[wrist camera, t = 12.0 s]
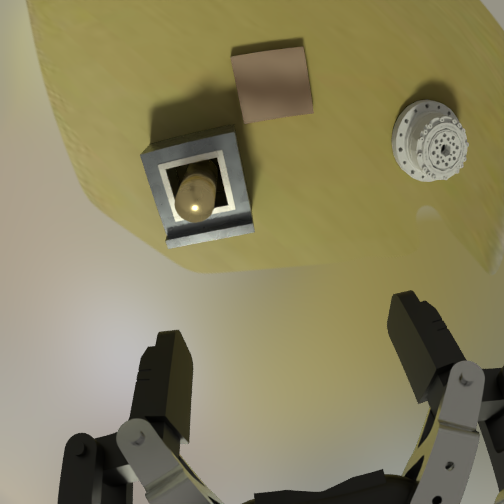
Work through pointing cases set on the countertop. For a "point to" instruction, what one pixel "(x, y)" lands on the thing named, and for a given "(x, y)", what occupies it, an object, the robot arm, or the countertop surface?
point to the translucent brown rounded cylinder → (197, 192)
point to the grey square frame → (226, 202)
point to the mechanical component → (429, 141)
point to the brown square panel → (272, 84)
